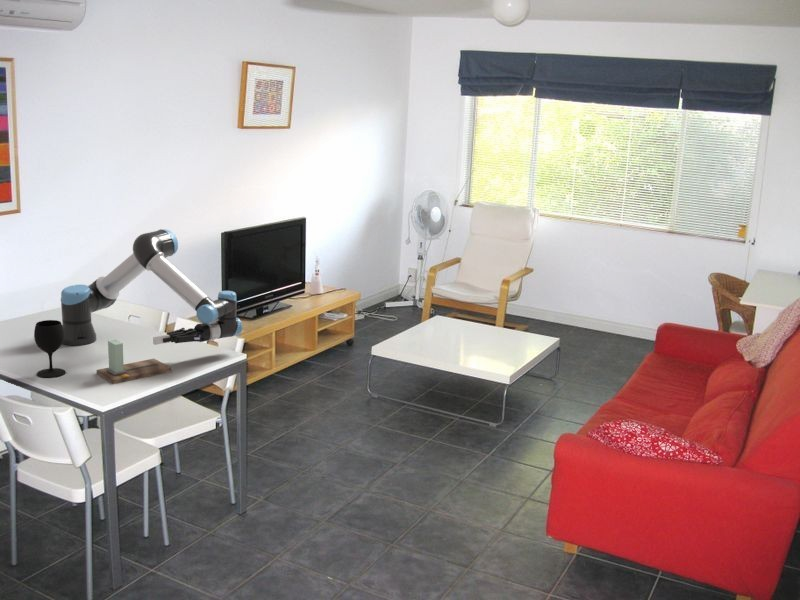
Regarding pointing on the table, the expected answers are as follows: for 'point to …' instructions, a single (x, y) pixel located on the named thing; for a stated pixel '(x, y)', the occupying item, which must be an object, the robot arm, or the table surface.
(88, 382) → the table surface
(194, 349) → the table surface
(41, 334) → the wine glass
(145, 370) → the brown wooden board
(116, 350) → the block
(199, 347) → the table surface
